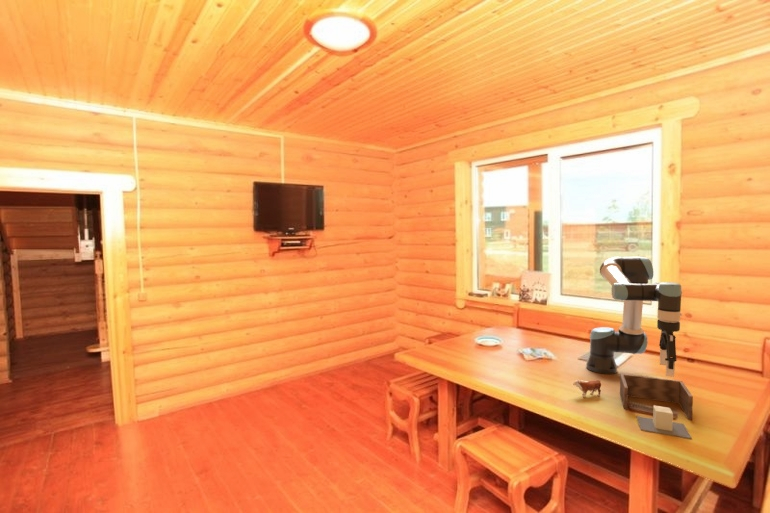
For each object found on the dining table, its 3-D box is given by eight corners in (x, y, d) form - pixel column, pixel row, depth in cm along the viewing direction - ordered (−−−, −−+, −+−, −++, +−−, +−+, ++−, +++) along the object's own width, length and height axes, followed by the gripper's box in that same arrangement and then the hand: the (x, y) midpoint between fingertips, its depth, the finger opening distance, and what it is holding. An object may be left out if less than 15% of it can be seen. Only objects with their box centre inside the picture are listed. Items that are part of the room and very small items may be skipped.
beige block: (655, 428, 154) (655, 411, 153) (652, 421, 159) (653, 405, 158) (672, 431, 151) (673, 413, 151) (669, 424, 156) (669, 407, 156)
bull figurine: (571, 394, 187) (571, 378, 186) (598, 393, 188) (598, 376, 187) (576, 398, 182) (577, 381, 182) (603, 397, 183) (604, 380, 183)
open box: (624, 409, 171) (624, 387, 170) (619, 393, 187) (620, 373, 186) (692, 420, 160) (692, 396, 159) (681, 402, 176) (682, 381, 175)
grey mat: (641, 430, 153) (641, 429, 153) (636, 416, 164) (636, 416, 164) (691, 439, 146) (691, 438, 146) (683, 424, 157) (683, 423, 157)
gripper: (687, 328, 147) (684, 383, 149) (673, 314, 169) (671, 361, 171) (663, 326, 150) (661, 379, 152) (652, 312, 173) (651, 359, 174)
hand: (666, 370), depth 162 cm, fingers open, 13 cm apart
